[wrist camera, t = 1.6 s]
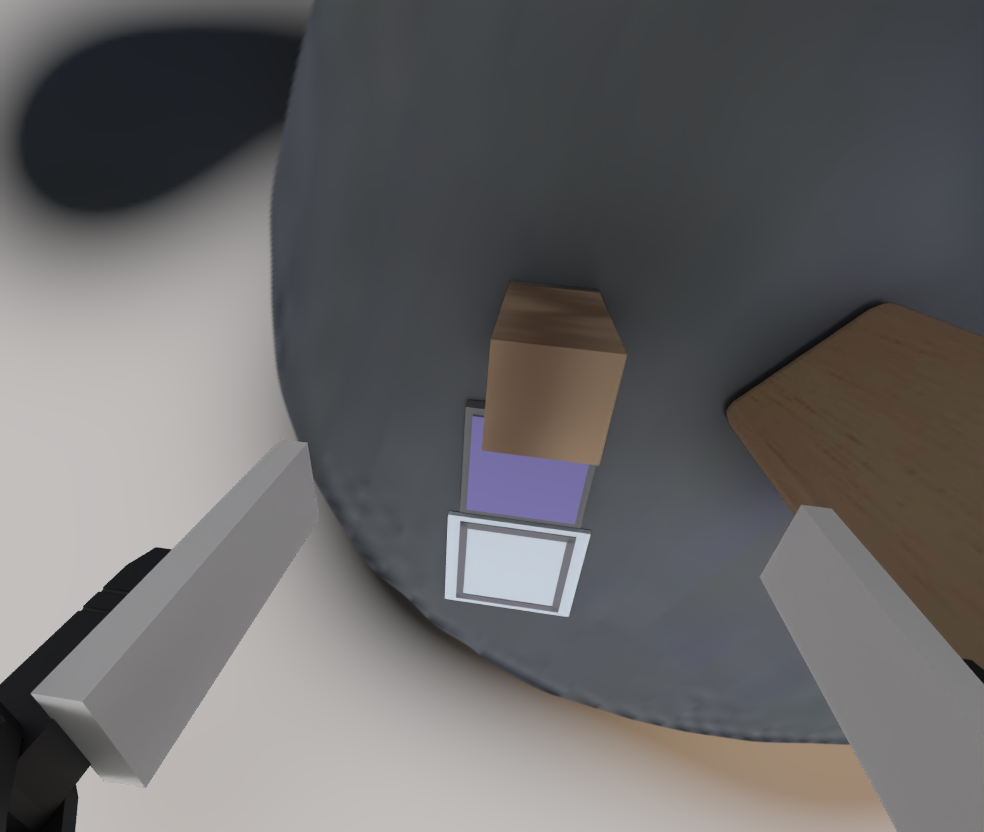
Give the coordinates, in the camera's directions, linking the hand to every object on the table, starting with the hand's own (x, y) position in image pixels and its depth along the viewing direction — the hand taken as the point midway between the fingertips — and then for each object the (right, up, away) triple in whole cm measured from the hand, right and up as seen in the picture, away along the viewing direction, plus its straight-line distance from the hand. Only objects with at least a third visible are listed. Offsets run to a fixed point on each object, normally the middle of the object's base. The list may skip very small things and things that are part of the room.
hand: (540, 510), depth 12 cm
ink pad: (+1, -1, +19) cm, 19 cm away
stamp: (+2, +8, +14) cm, 16 cm away
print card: (0, -10, +24) cm, 26 cm away
